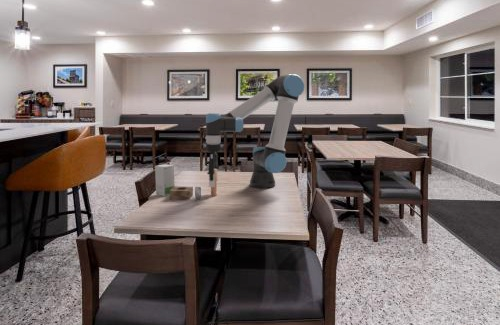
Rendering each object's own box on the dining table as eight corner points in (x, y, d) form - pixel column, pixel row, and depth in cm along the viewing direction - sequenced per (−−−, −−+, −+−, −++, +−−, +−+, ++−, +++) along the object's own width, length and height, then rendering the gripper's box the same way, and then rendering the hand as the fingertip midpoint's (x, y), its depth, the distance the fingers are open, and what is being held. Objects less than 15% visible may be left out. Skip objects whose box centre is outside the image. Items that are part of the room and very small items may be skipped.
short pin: (201, 198, 188) (201, 186, 187) (200, 199, 185) (200, 188, 184) (195, 198, 188) (195, 186, 187) (194, 199, 185) (194, 188, 184)
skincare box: (164, 196, 190) (163, 167, 188) (155, 194, 194) (154, 165, 191) (175, 193, 197) (174, 164, 195) (166, 191, 201) (165, 163, 198)
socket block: (193, 194, 194) (192, 186, 193) (189, 199, 184) (189, 191, 184) (174, 194, 194) (174, 186, 194) (169, 199, 185) (169, 190, 184)
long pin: (216, 194, 195) (216, 168, 193) (216, 195, 192) (216, 169, 190) (211, 194, 195) (211, 168, 193) (210, 195, 192) (210, 169, 190)
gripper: (209, 141, 202) (209, 178, 205) (202, 146, 177) (202, 188, 181) (222, 141, 202) (222, 179, 205) (217, 146, 177) (217, 189, 180)
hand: (213, 183), depth 193 cm, fingers open, 13 cm apart
